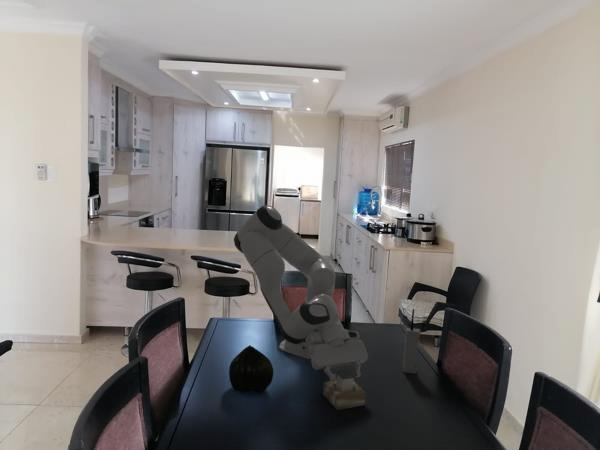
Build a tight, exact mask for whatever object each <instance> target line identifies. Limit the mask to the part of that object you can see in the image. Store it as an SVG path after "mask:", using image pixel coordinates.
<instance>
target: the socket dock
mask: <svg viewBox="0 0 600 450" xmlns="http://www.w3.org/2000/svg"><path fill="white" fill-rule="evenodd" d="M336 384H337V379H336V380H335V381H330V380H329V381H324V382H323V396H324V397H325V398H326V399H327V401H328V402H329V403H330V404H331V405H332V406H333V407H334V408H335V410H336V411H341V410H345V409H351V408H355V407H361V406H365V404H366V401H365V400H366V391H365V390H364V389H363V388H362V387H361V386H359V384H357V383H356V382H355V380H354V381H353V391H348V392H343V393H341V392H340V391H339V390H338V389H337V388H336Z"/></svg>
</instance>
